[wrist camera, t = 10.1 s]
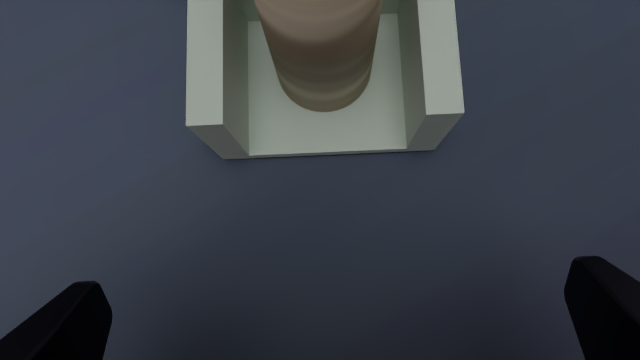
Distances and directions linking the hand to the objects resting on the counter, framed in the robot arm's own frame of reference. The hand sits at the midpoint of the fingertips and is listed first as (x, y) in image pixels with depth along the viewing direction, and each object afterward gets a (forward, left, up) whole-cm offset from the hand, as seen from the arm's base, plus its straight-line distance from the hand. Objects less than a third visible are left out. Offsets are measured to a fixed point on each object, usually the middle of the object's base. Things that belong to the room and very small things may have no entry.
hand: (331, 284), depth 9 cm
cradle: (+6, +6, -10) cm, 14 cm away
